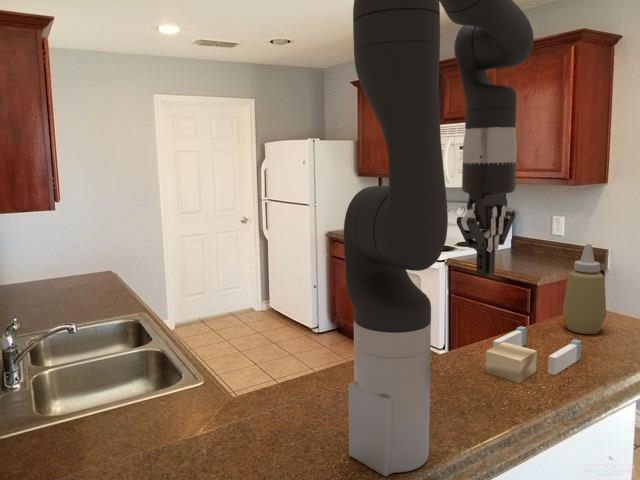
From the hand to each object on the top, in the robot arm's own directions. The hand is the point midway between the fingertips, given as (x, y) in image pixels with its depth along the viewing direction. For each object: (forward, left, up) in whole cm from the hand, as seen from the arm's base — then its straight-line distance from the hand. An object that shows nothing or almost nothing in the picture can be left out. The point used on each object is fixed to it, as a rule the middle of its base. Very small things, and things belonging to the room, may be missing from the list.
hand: (485, 274), depth 80 cm
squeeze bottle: (+39, 0, -19) cm, 43 cm away
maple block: (+9, 0, -19) cm, 21 cm away
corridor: (+18, 0, -18) cm, 26 cm away
